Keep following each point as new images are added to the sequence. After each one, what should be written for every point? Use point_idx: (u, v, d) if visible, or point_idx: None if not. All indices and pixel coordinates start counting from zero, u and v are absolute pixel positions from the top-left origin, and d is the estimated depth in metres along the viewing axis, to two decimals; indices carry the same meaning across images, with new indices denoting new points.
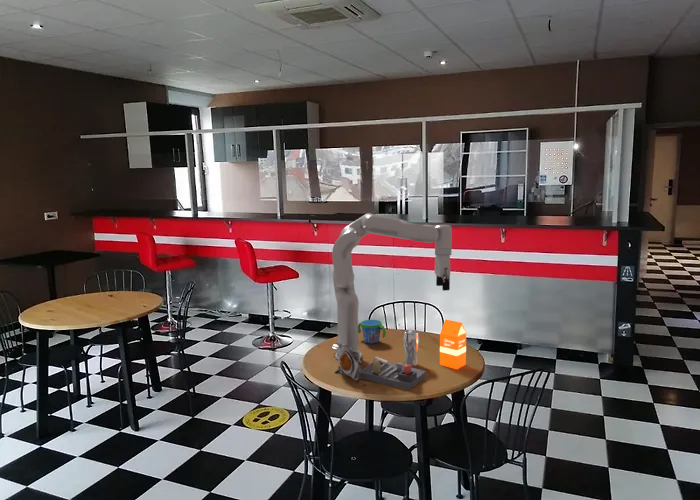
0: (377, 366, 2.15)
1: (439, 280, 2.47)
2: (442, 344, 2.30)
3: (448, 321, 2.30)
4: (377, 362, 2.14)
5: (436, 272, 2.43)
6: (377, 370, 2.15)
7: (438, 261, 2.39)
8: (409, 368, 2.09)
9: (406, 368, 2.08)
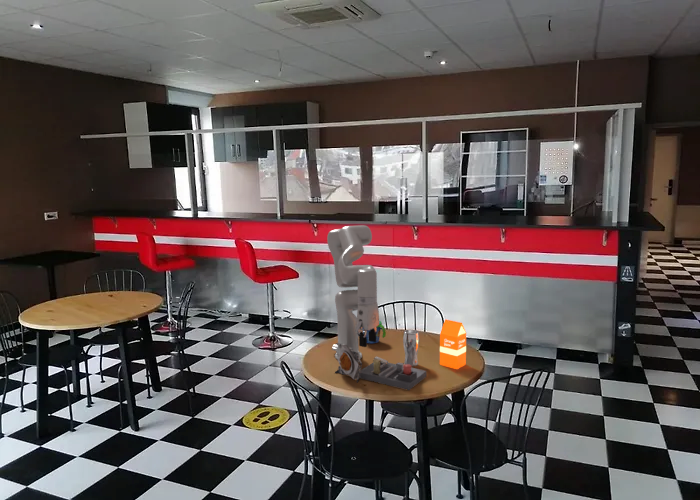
0: (377, 366, 2.15)
1: None
2: (442, 344, 2.30)
3: (448, 321, 2.30)
4: (377, 362, 2.14)
5: (372, 325, 2.05)
6: (377, 370, 2.15)
7: (375, 310, 2.06)
8: (409, 368, 2.09)
9: (406, 368, 2.08)
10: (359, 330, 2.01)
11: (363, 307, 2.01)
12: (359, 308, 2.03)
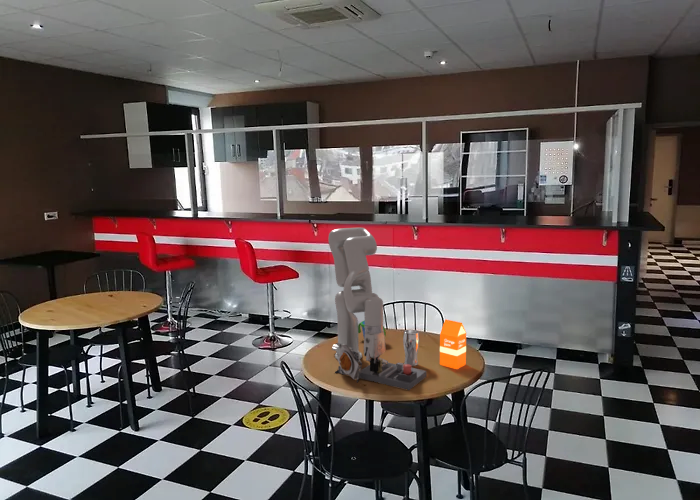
0: (379, 365, 2.16)
1: None
2: (442, 344, 2.30)
3: (448, 321, 2.30)
4: (379, 361, 2.15)
5: (378, 353, 2.11)
6: (379, 369, 2.16)
7: (382, 337, 2.12)
8: (409, 368, 2.09)
9: (406, 368, 2.08)
10: (369, 359, 2.09)
11: (370, 335, 2.07)
12: (366, 336, 2.09)
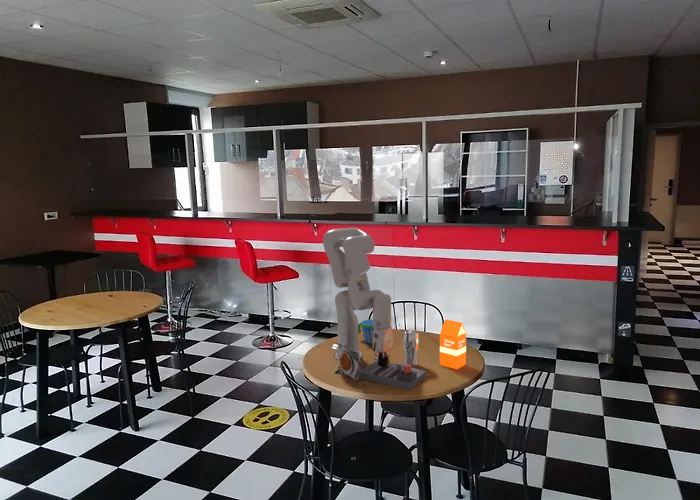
0: (387, 360, 2.21)
1: None
2: (442, 344, 2.30)
3: (448, 321, 2.30)
4: (387, 356, 2.21)
5: (387, 348, 2.16)
6: (387, 364, 2.21)
7: (390, 333, 2.17)
8: (409, 368, 2.09)
9: (406, 368, 2.08)
10: (378, 354, 2.15)
11: (378, 331, 2.13)
12: (374, 332, 2.14)
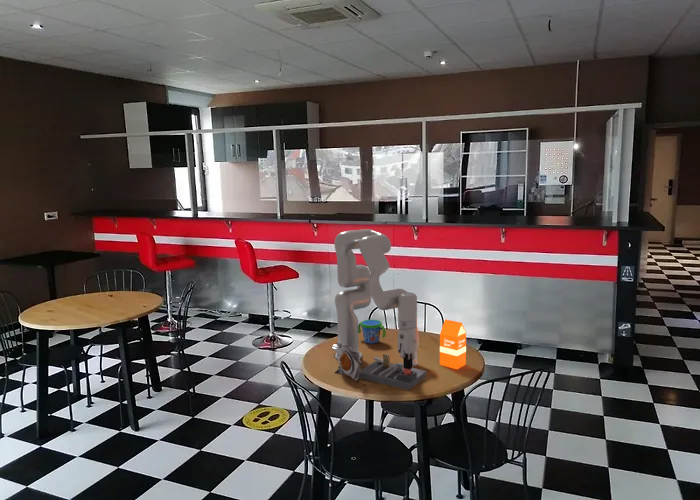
0: (387, 360, 2.21)
1: None
2: (442, 344, 2.30)
3: (448, 321, 2.30)
4: (387, 356, 2.21)
5: (413, 349, 2.06)
6: (387, 364, 2.21)
7: (416, 333, 2.08)
8: (409, 370, 2.09)
9: (406, 370, 2.08)
10: (403, 355, 2.05)
11: (404, 331, 2.03)
12: (400, 332, 2.04)
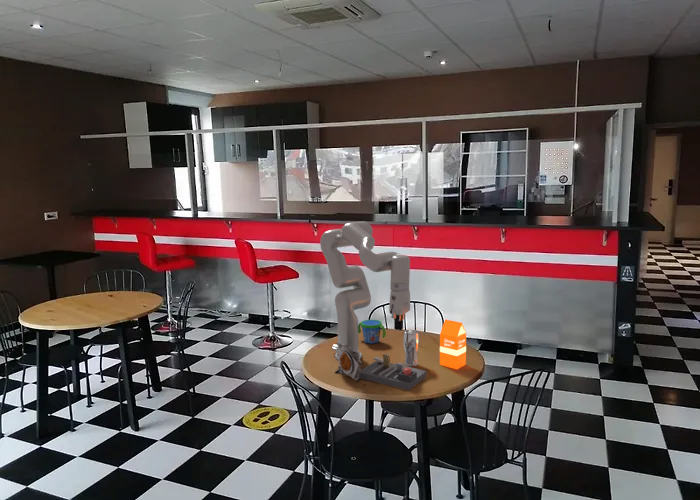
0: (387, 360, 2.21)
1: None
2: (442, 344, 2.30)
3: (448, 321, 2.30)
4: (387, 356, 2.21)
5: (404, 311, 2.10)
6: (387, 364, 2.21)
7: (407, 295, 2.11)
8: (409, 372, 2.09)
9: (406, 371, 2.09)
10: (395, 316, 2.09)
11: (396, 292, 2.07)
12: (392, 293, 2.08)
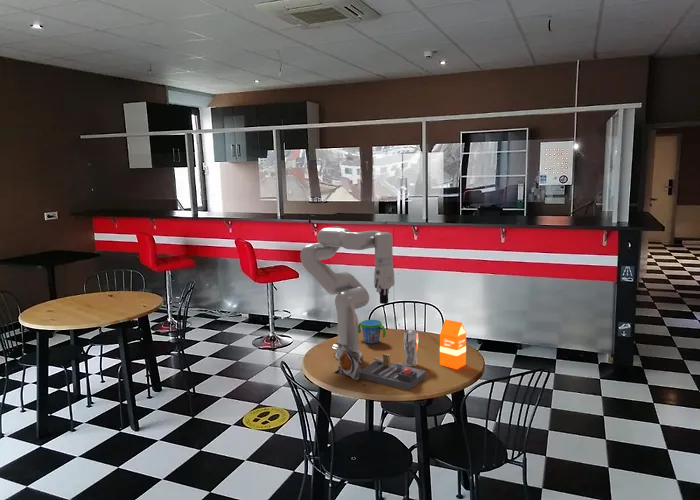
0: (387, 360, 2.21)
1: None
2: (442, 344, 2.30)
3: (448, 321, 2.30)
4: (387, 356, 2.21)
5: (388, 285, 2.21)
6: (387, 364, 2.21)
7: (391, 270, 2.23)
8: (409, 372, 2.09)
9: (406, 371, 2.09)
10: (379, 290, 2.20)
11: (380, 267, 2.18)
12: (376, 268, 2.19)
